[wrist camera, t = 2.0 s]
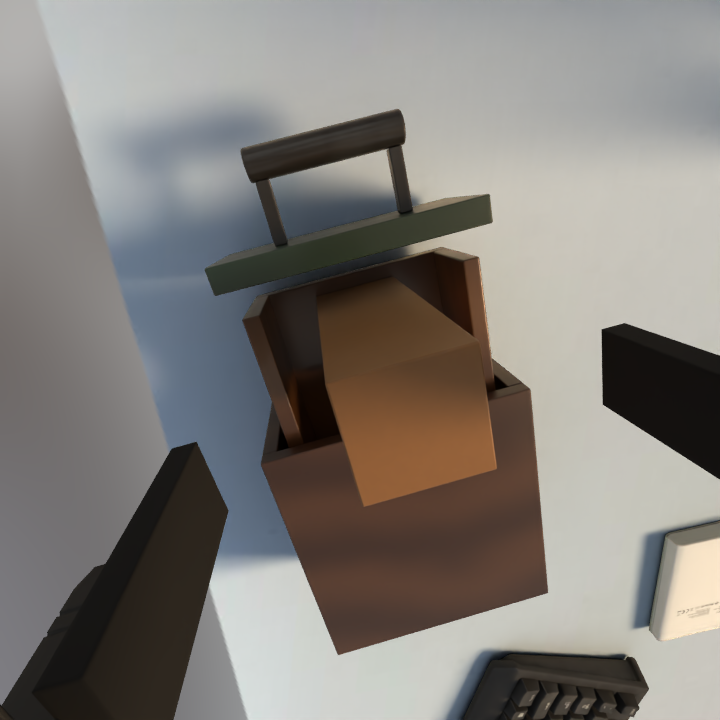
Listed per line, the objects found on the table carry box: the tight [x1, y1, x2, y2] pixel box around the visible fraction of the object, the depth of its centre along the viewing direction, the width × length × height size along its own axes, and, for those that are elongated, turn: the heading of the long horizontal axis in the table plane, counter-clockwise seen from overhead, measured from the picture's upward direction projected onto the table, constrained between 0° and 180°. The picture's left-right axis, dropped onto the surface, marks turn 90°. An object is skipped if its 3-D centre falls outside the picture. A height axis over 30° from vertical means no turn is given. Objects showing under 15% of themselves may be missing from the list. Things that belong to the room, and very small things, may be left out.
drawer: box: [205, 109, 496, 448], centre depth 21 cm, size 18×12×6 cm
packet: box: [316, 277, 497, 507], centre depth 17 cm, size 4×4×12 cm
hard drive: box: [649, 521, 720, 641], centre depth 37 cm, size 2×8×12 cm
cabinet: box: [261, 359, 548, 655], centre depth 25 cm, size 15×14×8 cm
